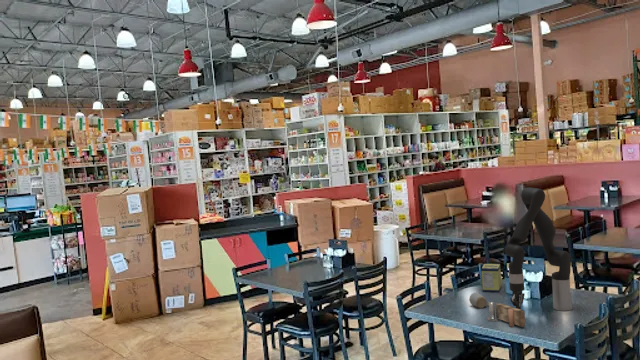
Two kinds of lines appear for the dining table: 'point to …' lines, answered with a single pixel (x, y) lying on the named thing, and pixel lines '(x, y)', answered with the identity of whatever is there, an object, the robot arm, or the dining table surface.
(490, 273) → the protein box
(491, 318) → the hinge post
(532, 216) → the robot arm
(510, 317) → the latch post
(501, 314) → the gate
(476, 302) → the ceramic mug
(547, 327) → the dining table surface
